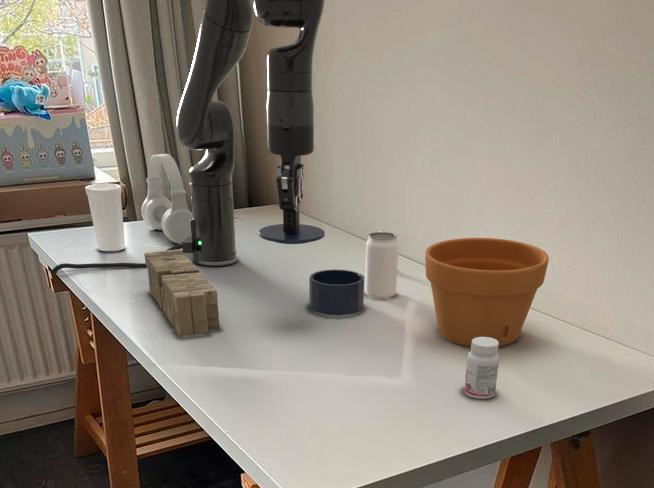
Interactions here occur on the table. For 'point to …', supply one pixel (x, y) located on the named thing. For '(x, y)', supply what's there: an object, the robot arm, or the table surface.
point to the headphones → (166, 201)
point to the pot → (336, 292)
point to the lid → (301, 236)
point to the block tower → (182, 292)
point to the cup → (107, 215)
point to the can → (381, 264)
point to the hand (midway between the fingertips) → (291, 230)
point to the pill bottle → (482, 368)
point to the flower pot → (483, 287)
